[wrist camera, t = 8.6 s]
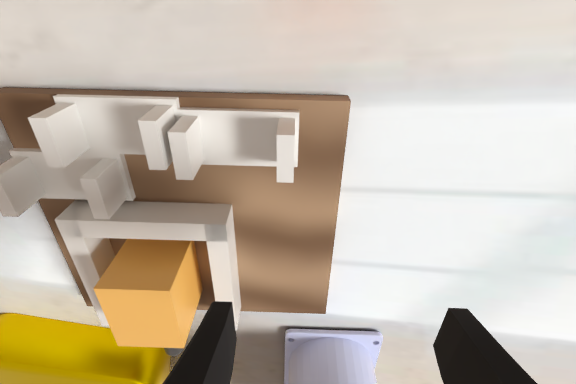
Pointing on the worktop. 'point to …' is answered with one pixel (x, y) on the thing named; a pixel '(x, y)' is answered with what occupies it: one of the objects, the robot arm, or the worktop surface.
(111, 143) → the clip
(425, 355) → the worktop surface
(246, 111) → the clip
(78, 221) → the frame
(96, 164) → the clip
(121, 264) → the block
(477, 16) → the worktop surface
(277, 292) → the board
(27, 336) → the element tile
